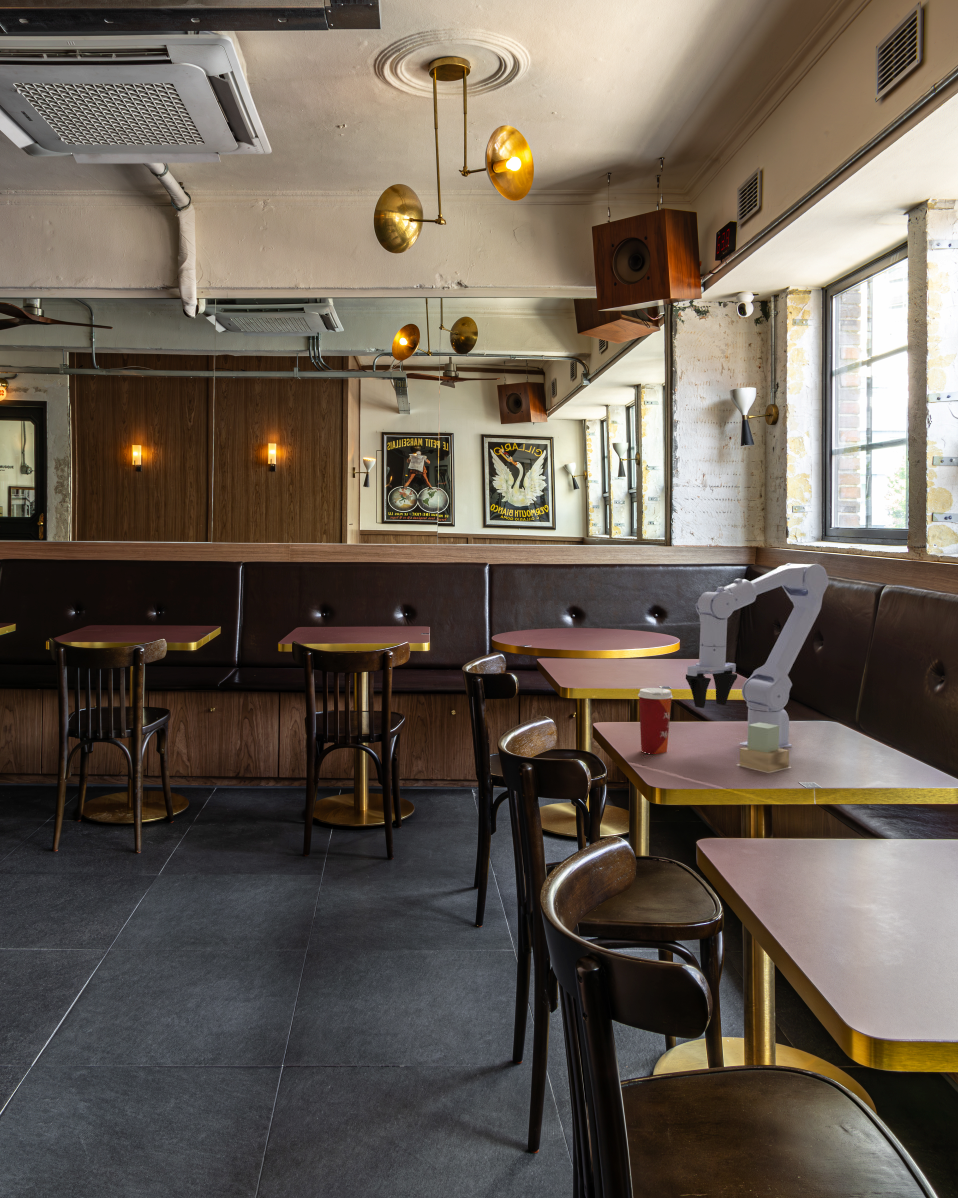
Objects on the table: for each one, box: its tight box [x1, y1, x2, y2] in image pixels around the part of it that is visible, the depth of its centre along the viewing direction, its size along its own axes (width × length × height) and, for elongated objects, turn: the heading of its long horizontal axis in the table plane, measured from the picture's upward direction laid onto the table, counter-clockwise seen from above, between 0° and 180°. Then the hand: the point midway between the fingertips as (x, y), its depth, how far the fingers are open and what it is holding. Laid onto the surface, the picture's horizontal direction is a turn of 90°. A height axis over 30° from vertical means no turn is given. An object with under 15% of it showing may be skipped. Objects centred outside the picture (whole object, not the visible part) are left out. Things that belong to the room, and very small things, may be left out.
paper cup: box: [637, 687, 674, 755], centre depth 195 cm, size 8×8×14 cm
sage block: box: [747, 722, 779, 753], centre depth 181 cm, size 4×4×5 cm
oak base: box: [739, 746, 790, 773], centre depth 181 cm, size 7×7×4 cm
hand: (710, 705), depth 195 cm, fingers open, 7 cm apart
